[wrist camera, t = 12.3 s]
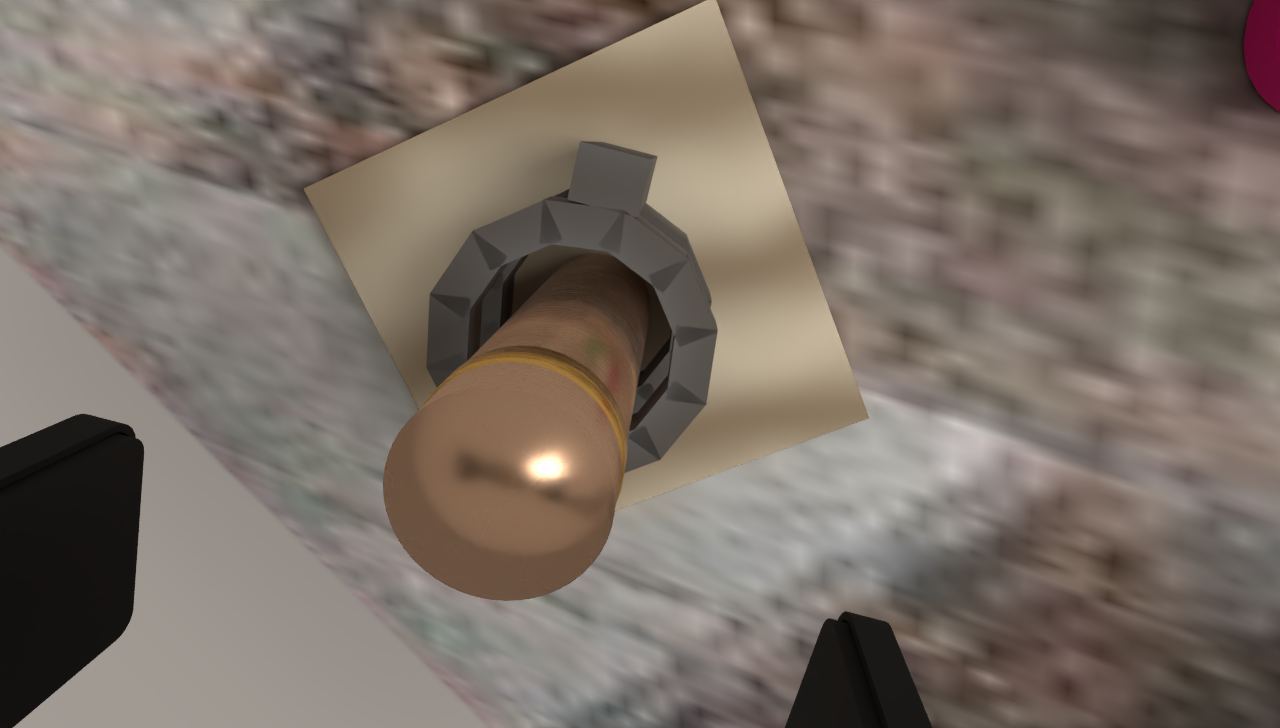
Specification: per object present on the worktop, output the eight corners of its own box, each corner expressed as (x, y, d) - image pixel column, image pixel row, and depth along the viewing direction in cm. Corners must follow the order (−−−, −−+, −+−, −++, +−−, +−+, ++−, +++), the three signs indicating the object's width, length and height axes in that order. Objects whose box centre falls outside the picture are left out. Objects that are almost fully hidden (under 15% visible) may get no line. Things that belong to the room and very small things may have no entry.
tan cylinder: (669, 336, 29) (655, 559, 13) (569, 375, 29) (446, 632, 14) (625, 234, 28) (556, 347, 12) (524, 277, 28) (337, 436, 13)
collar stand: (861, 407, 30) (918, 489, 23) (501, 539, 33) (451, 652, 25) (713, 3, 26) (725, -50, 19) (318, 186, 29) (198, 200, 22)
